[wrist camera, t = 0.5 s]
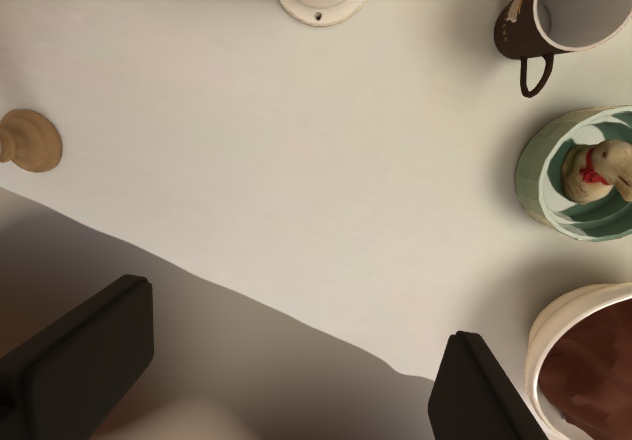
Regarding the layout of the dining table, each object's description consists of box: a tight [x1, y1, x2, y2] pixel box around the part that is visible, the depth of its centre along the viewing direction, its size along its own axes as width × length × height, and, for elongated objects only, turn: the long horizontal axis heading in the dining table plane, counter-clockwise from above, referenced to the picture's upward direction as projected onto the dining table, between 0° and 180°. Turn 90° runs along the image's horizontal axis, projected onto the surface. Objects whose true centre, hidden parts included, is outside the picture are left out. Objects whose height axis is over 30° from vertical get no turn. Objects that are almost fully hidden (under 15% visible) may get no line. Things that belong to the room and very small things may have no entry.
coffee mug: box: [494, 0, 632, 98], centre depth 31 cm, size 12×9×10 cm
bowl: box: [515, 105, 632, 242], centre depth 37 cm, size 15×15×6 cm
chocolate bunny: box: [560, 139, 632, 205], centre depth 35 cm, size 6×8×10 cm
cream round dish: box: [525, 282, 632, 440], centre depth 39 cm, size 25×25×15 cm
